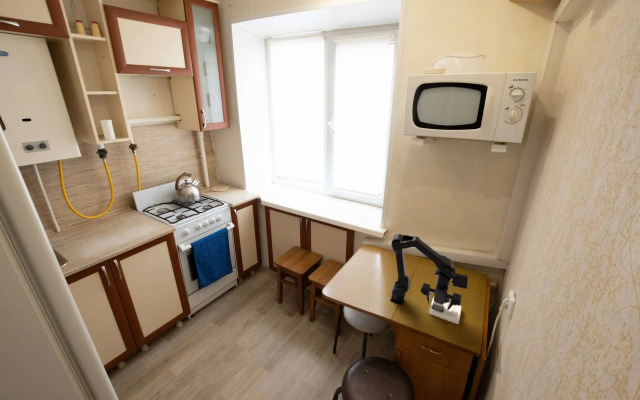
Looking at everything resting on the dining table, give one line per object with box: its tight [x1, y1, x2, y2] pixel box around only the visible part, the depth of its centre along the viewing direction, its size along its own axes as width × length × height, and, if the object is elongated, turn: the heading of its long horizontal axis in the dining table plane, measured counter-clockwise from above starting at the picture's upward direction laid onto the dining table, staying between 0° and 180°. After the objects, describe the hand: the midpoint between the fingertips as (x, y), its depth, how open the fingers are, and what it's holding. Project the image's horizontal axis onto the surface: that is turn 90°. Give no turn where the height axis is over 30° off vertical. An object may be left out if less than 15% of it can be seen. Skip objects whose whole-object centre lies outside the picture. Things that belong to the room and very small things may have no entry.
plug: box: [433, 302, 443, 312], centre depth 143 cm, size 4×4×8 cm
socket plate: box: [428, 296, 462, 325], centre depth 144 cm, size 14×11×3 cm
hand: (438, 306), depth 144 cm, fingers open, 9 cm apart
